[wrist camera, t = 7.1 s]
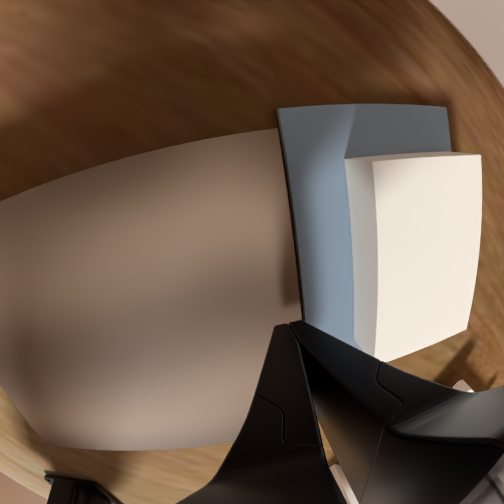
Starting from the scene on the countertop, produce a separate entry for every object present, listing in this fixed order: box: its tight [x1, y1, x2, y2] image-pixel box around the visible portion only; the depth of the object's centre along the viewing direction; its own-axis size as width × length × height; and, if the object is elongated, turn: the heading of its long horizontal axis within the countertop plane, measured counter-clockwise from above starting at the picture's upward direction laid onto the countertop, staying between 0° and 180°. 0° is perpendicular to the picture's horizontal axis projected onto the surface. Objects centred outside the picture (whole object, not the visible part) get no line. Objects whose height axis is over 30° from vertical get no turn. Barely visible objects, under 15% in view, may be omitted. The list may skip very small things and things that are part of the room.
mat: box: [277, 104, 451, 351], centre depth 14 cm, size 14×9×1 cm, turn 9°
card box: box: [344, 151, 482, 362], centre depth 12 cm, size 9×6×3 cm, turn 9°
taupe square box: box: [0, 128, 302, 451], centre depth 11 cm, size 12×14×4 cm
